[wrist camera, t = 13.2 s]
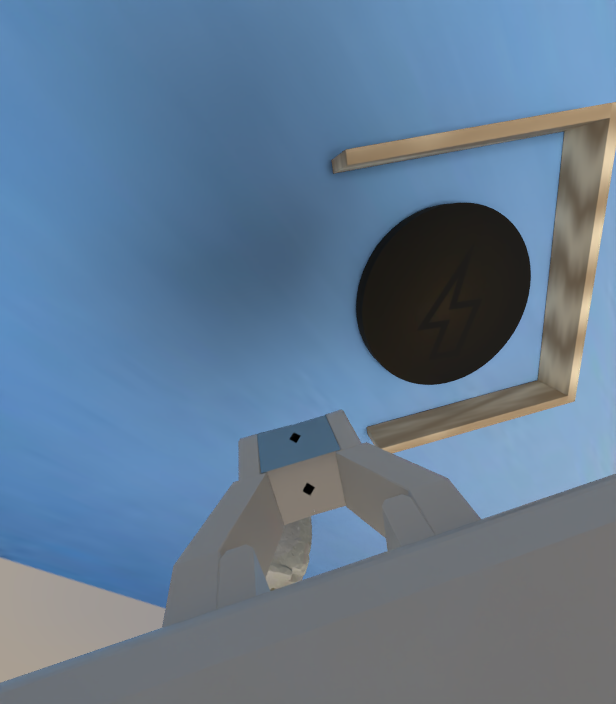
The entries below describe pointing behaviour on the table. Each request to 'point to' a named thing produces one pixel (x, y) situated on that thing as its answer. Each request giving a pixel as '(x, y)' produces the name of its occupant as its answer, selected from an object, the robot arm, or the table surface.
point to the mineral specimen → (291, 555)
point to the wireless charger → (443, 292)
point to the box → (564, 276)
